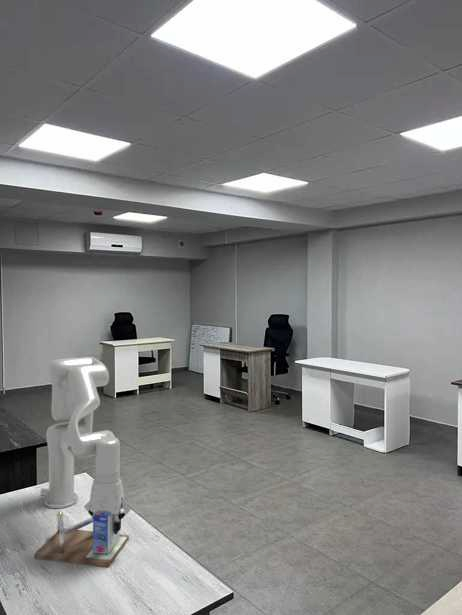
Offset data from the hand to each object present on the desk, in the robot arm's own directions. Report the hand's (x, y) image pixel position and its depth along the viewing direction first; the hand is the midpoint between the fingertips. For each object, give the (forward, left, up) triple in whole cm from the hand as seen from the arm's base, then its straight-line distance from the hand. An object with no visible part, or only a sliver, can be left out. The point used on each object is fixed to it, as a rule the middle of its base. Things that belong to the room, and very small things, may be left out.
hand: (107, 530), depth 149 cm
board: (-8, 0, -7) cm, 11 cm away
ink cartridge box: (0, 0, -5) cm, 5 cm away
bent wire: (-13, 0, -6) cm, 15 cm away
